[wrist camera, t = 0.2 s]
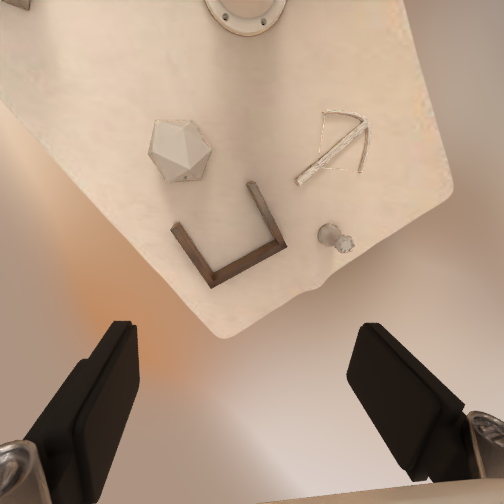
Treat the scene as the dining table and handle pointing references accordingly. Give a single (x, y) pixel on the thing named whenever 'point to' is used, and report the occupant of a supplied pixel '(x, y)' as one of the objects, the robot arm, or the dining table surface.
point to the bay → (242, 263)
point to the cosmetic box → (19, 3)
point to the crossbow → (340, 146)
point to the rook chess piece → (335, 238)
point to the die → (178, 150)
